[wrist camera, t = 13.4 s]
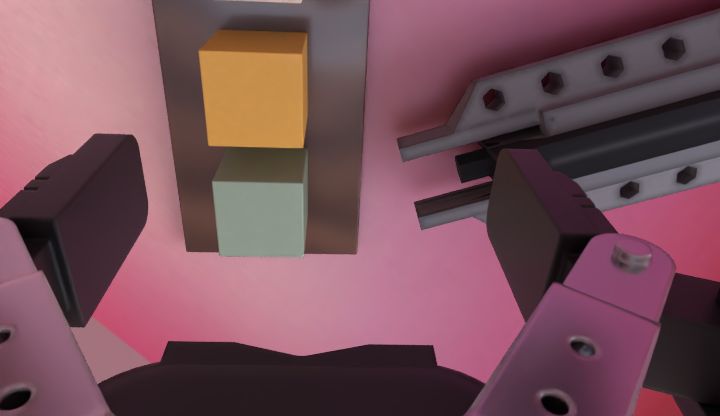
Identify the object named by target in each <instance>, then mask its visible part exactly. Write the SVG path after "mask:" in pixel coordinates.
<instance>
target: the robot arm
mask: <svg viewBox="0 0 720 416" xmlns="http://www.w3.org/2000/svg"><path fill="white" fill-rule="evenodd" d="M147 215H148V198H147V192H146V186H145V180H144V175H143V169H142V163H141V157H140V151H139V146H138V143H137V140H136V138H135V137H134V136H133V135H125V134H94V135H93V136H92V137H91V138H90V139H89V140H88V141H87V142H86V143H85V144H84V145H83V146H82V147H81V148H80V149H78V150H77V151H76V152H75V153H74V154H73V155H68V156H66V157H64V158H62V159H60V160H58V161H55V162H53V163H51V164H49V165H48V166H47V167H46V168H44V169H43V170H42V171H41V172H40V173H39V174H38V175H37V176H36V177H35V180H31V181H30V182H29V183H28V184H27V185H26V186H25V187H24V190H21V191H20V192H18V193H17V194H16V195H15V196H14V197H13V198H12V199H11V200H10V201H9V202H8V203H7V204H5V205H4V206H3V207H2V208H1V209H0V416H633V413H634V410H635V407H636V404H637V401H638V398H639V395H640V391H641V388H642V387H643V388H647V389H651V390H655V391H659V392H663V393H666V394H670V395H672V396H673V398H674V400H675V402H676V403H677V405H678V407H679V409H680V410H681V412H682V414H683V415H684V416H720V282H716V281H712V280H707V279H702V278H697V277H693V276H688V275H683V274H679V273H675V272H676V265H675V262H674V260H673V259H672V258H671V257H670V255H669V254H667V253H666V252H665V251H664V250H662V249H661V248H660V247H658V246H656V245H654V244H652V243H650V242H648V241H646V240H643V239H640V238H637V237H634V236H630V235H625V234H619V233H618V232H617V231H616V230H615V229H614V227H613V226H612V225H611V224H610V222H609V221H608V220H607V219H606V218H605V216H604V215H603V214H602V213H601V211H600V210H599V209H598V208H596V205H595V204H594V203H593V202H592V200H591V199H590V198H587V194H586V193H585V192H584V191H583V189H582V188H581V187H580V186H579V185H578V183H577V182H575V181H573V180H572V179H570V178H569V177H567V176H565V175H564V174H562V173H560V172H556V171H553V170H552V168H551V167H550V166H549V164H548V163H547V162H546V161H545V159H544V158H543V157H542V155H541V154H540V153H539V152H538V151H537V150H529V149H502V150H501V151H500V153H499V156H498V159H497V163H496V168H495V173H494V178H493V183H492V188H491V194H490V199H489V204H488V209H487V217H486V224H487V233H488V236H489V239H490V241H491V244H492V246H493V248H494V251H495V253H496V255H497V258H498V260H499V262H500V264H501V267H502V269H503V271H504V274H505V276H506V278H507V281H508V283H509V285H510V288H511V290H512V292H513V295H514V297H515V299H516V302H517V304H518V306H519V309H520V311H521V313H522V315H523V318H524V320H525V322H526V324H525V325H524V327H523V328H522V330H521V331H520V333H519V334H518V336H517V337H516V339H515V340H514V342H513V343H512V345H511V346H510V348H509V349H508V351H507V352H506V354H505V355H504V357H503V358H502V360H501V362H500V363H499V365H498V366H497V368H496V369H495V371H494V372H493V374H492V375H491V377H490V378H489V380H488V381H487V383H486V384H485V383H483V382H481V381H479V380H477V379H475V378H473V377H471V376H469V375H466V374H464V373H462V372H459V371H456V370H452V369H449V368H446V367H442V366H438V365H437V362H436V357H435V352H434V347H433V345H374V344H369V345H363V346H358V347H352V348H347V349H341V350H336V351H330V352H325V353H319V354H314V355H308V356H296V355H291V354H286V353H282V352H277V351H272V350H268V349H263V348H258V347H254V346H249V345H245V344H240V343H235V342H182V341H168V343H167V346H166V348H165V351H164V354H163V356H162V359H161V361H160V362H157V363H152V364H148V365H144V366H141V367H137V368H134V369H131V370H129V371H126V372H123V373H120V374H118V375H115V376H113V377H111V378H109V379H107V380H104V381H102V382H101V383H99V384H97V382H96V381H95V378H94V376H93V374H92V372H91V370H90V368H89V366H88V364H87V362H86V360H85V358H84V355H83V353H82V351H81V349H80V347H79V345H78V343H77V341H76V339H75V337H74V335H73V333H72V331H71V328H70V327H85V326H86V324H87V323H88V321H89V319H90V318H91V316H92V314H93V313H94V311H95V309H96V307H97V306H98V304H99V302H100V301H101V299H102V297H103V296H104V294H105V292H106V291H107V289H108V287H109V286H110V284H111V282H112V280H113V279H114V277H115V275H116V274H117V272H118V270H119V269H120V267H121V265H122V264H123V262H124V260H125V259H126V257H127V255H128V253H129V252H130V250H131V248H132V247H133V245H134V243H135V242H136V240H137V238H138V237H139V235H140V233H141V232H142V230H143V228H144V226H145V224H146V220H147Z"/></svg>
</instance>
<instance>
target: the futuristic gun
mask: <svg viewBox="0 0 720 416" xmlns="http://www.w3.org/2000/svg"><path fill="white" fill-rule="evenodd" d="M604 59H605V67H604V68H603V69H602V67H601V64H600V63H601V62H602V61H603V60H604ZM548 72H549V80H550V82H549V83H548V84H547V85H546V86H545V87H544V88H543V86H542V83H541V80H542V79H543V78H544V77H545V76H546V75H547V73H548ZM490 89H494V90H495V99H493V100H492V101H491V102H490V103H489V104H488V105H485V104H484V100H483V96H484V95H485V94H486V93H487V92H488V91H489V90H490ZM397 142H398V146H399V150H400V154H401V157H402V161H403V162H405V161H409V160H413V159H416V158H420V157H423V156H427V155H431V154H434V153H438V152H441V151H445V150H449V149H452V148H456V147H459V146H463V145H467V144H470V143H474V142H478V143H479V144H480V145H481V146H482V147H483V149H479V150H475V151H472V152H468V153H465V154H461V155H457V156H455V162H456V166H457V171H458V174H459V177H460V180H461V183H464V182H468V181H471V180H475V179H479V178H483V177H486V176H490V177H491V178H492V180H493V178H494V173H495V168H496V163H497V159H498V156H499V153H500V151H501V150H502V149H529V150H537V151H538V152H539V153H540V154H541V155H542V157H543V158H544V159H545V161H546V162H547V163H548V164H549V166H550V167H551V168H552V170H553V171H556V172H560V173H562V174H564V175H565V176H567V177H569V178H570V179H572V180H573V181H575V182H577V183H578V185H579V186H580V187H581V188H582V189H583V191H584V192H585V193H586V194H587V198H590V199H591V200H592V202H593V203H594V204H595V205H596V208H598V209H599V210H600V211H601V212H604V211H607V210H611V209H615V208H619V207H623V206H627V205H631V204H635V203H638V202H642V201H646V200H650V199H654V198H658V197H662V196H666V195H670V194H673V193H677V192H681V191H685V190H689V189H693V188H697V187H701V186H704V185H708V184H712V183H716V182H720V8H719V9H715V10H712V11H708V12H705V13H701V14H698V15H695V16H691V17H688V18H684V19H681V20H677V21H674V22H670V23H667V24H664V25H660V26H657V27H653V28H650V29H646V30H643V31H639V32H636V33H633V34H629V35H626V36H622V37H619V38H615V39H612V40H608V41H605V42H602V43H598V44H595V45H591V46H588V47H584V48H581V49H577V50H574V51H571V52H567V53H564V54H560V55H557V56H553V57H550V58H546V59H543V60H540V61H536V62H533V63H529V64H526V65H522V66H519V67H515V68H512V69H509V70H505V71H502V72H498V73H495V74H491V75H488V76H484V77H481V78H477V79H474V80H472V81H471V83H470V84H469V86H468V88H467V89H466V91H465V93H464V94H463V96H462V98H461V99H460V101H459V103H458V104H457V106H456V108H455V109H454V111H453V113H452V114H451V116H450V118H449V119H448V121H447V123H446V124H445V125H443V126H439V127H436V128H432V129H429V130H425V131H422V132H418V133H415V134H411V135H408V136H404V137H401V138H397ZM492 183H493V181H490V182H486V183H483V184H479V185H475V186H472V187H468V188H464V189H460V190H457V191H453V192H449V193H445V194H442V195H438V196H434V197H431V198H427V199H423V200H419V201H416V202H414V204H415V208H416V212H417V216H418V220H419V223H420V227H421V230H423V229H427V228H431V227H435V226H438V225H442V224H446V223H450V222H454V221H457V220H461V219H465V218H469V217H474V218H476V219H478V220H480V221H482V222H484V223H486V217H487V209H488V204H489V199H490V194H491V188H492Z"/></svg>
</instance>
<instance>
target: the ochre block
mask: <svg viewBox="0 0 720 416" xmlns="http://www.w3.org/2000/svg"><path fill="white" fill-rule="evenodd" d="M199 60H200V70H201V80H202V89H203V99H204V109H205V118H206V128H207V137H208V145H209V146H231V147H272V148H303V147H304V139H305V132H306V124H307V117H308V79H307V33H301V32H274V31H246V30H218V31H217V32H216V33H215V34H214V35H213V36H212V37H211V38H210V39H209V40H208V41H207V42H206V43H205V44H204V45H203V46H202V48H201V49H200V50H199Z"/></svg>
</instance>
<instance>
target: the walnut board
mask: <svg viewBox="0 0 720 416" xmlns="http://www.w3.org/2000/svg"><path fill="white" fill-rule="evenodd" d="M152 6H153V13H154V20H155V27H156V35H157V42H158V49H159V56H160V64H161V71H162V78H163V85H164V92H165V100H166V107H167V114H168V121H169V129H170V136H171V143H172V150H173V157H174V165H175V172H176V179H177V186H178V194H179V201H180V208H181V215H182V222H183V230H184V237H185V244H186V251H187V252H219V247H218V237H217V227H216V218H215V208H214V198H213V188H212V180H213V178H214V176H215V174H216V172H217V169H218V167H219V165H220V163H221V160H222V158H223V156H224V154H225V152H226V149H227V147H228V146H209V145H208V137H207V128H206V118H205V109H204V99H203V89H202V80H201V70H200V60H199V50H200V49H201V48H202V46H203V45H204V44H205V43H206V42H207V41H208V40H209V39H210V38H211V37H212V36H213V35H214V34H215V33H216V32H217V31H218V30H246V31H274V32H301V33H307V79H308V117H307V124H306V132H305V139H304V147H303V148H307V150H308V218H307V229H306V240H305V251H304V254H357V246H358V226H359V206H360V187H361V167H362V147H363V127H364V107H365V88H366V68H367V48H368V28H369V9H370V0H302V2H301V3H277V2H253V1H228V0H152Z"/></svg>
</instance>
